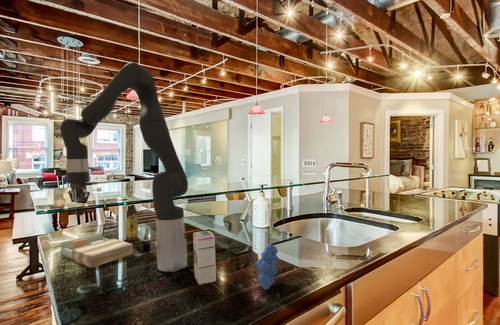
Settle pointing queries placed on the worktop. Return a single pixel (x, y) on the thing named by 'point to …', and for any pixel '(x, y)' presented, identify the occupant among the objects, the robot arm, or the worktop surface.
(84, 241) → the terracotta tile
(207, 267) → the syrup box
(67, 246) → the box
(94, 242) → the white tile
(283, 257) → the worktop surface
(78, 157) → the robot arm
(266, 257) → the grapes
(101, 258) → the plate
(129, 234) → the sauce bottle
